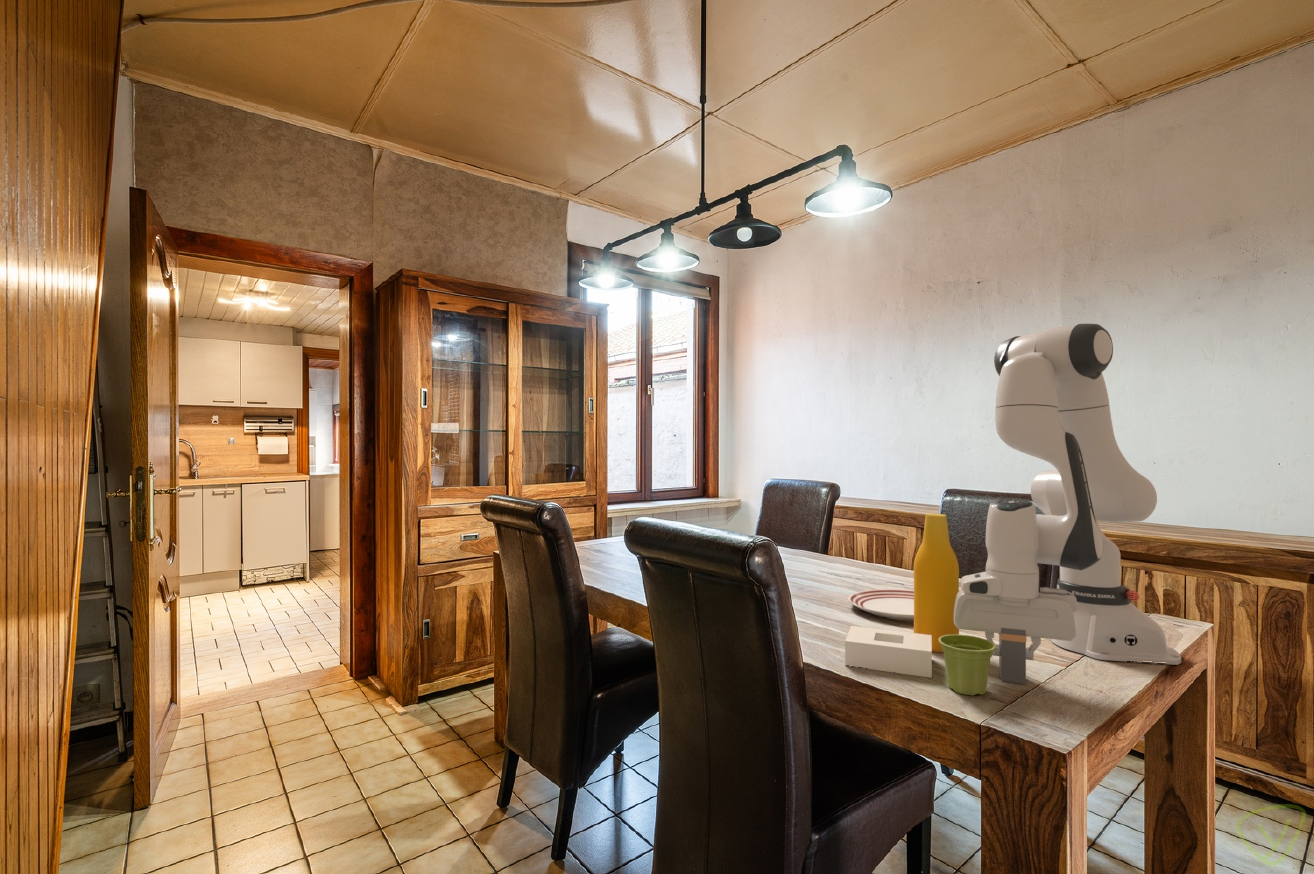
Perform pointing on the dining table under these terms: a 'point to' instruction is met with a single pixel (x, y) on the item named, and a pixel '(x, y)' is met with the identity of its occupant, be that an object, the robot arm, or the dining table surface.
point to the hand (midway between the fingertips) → (1012, 657)
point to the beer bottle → (935, 582)
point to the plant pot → (967, 662)
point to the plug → (1012, 655)
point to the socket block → (889, 651)
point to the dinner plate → (886, 603)
